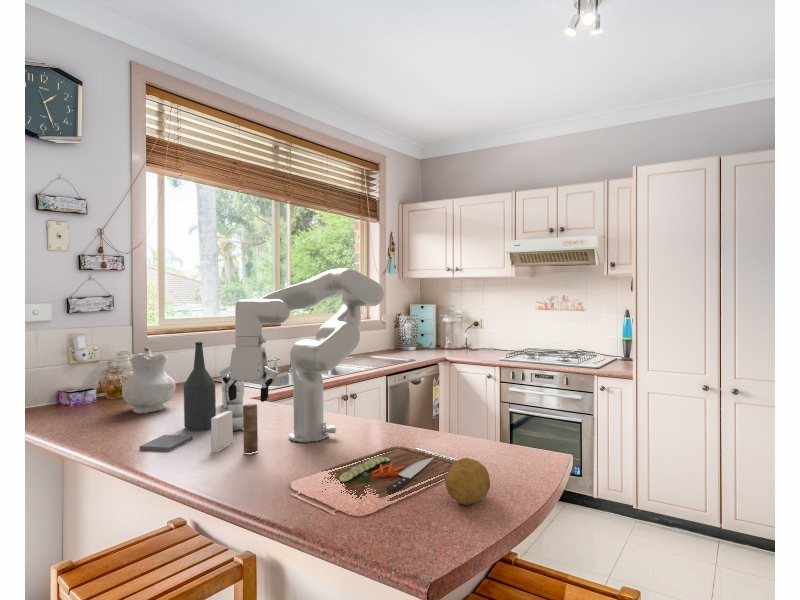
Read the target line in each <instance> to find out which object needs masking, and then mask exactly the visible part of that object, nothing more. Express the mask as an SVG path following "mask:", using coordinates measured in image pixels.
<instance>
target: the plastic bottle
mask: <svg viewBox="0 0 800 600" xmlns="http://www.w3.org/2000/svg"><path fill="white" fill-rule="evenodd" d="M228 375H229V376H228V377H229V378H230V371H229V372H228ZM230 379H231V378H230ZM235 385H236V387H237V388H236V399H234V400H232V401H230V400H229V396H228V387H227V384H226V385H225V394H226V403H227V408H226V411H232V429H233V432H235V431H240V430H241V431H242V430H243V405H244V393H245V384H244V381H237V382H236V383H235Z"/></svg>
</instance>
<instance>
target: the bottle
mask: <svg viewBox="0 0 800 600" xmlns="http://www.w3.org/2000/svg"><path fill="white" fill-rule="evenodd" d="M194 344H195V345H194V346H195V352H194V359H193V360H194V361H193V369H192V371H191V373H190V374H189V375H188V378H186V380H185V382H184V383H183V413H184V414H183V415H184V416H183V418H184V421H183V423H184V424H183V425H184V428H185V429H186V430H187V431H188V430H190V431H189V432H200V431H201V430H202V431H208V430H211V429H210V428H211V418H213V417H215V416H217V412H216V411H217V410H216V409H217V407H216V405H217V404H216V403H217V401H216V382H215V380H214V379H213V377H212V376H211V375H210V373H209V372H208V371H207V369H206V365H205V364H206V363H205V357H204V349H203V344H204V343H203V342H202V341H197V342H196V341H195V343H194ZM207 429H208V430H207Z"/></svg>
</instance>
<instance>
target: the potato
mask: <svg viewBox="0 0 800 600" xmlns="http://www.w3.org/2000/svg"><path fill="white" fill-rule="evenodd" d="M444 483H445V489H446V492H447V493H448V495H449V497H450V498H451V499H452V500H453V501H455V502H456V503H458V504H461V505H465V506H467V505H466V504H469V505H472V504H475V503H477V502H479V501H480V500H482V499H484V498H485V497H486V496H487V494H488V493H489V491H490V488H491V479H490V474H489V472H488V470H487V467H486V466H484V465H483V463H481V462H480V461H478V460H476V459H474V458H469V457H464V458H463V457H462V458H460V459H459V460H458V461H456V462H455V463H454V464H453V465H452V467H451V468H450V470H449V472H448V473H447V475H446V478H445V481H444ZM471 503H472V504H471Z"/></svg>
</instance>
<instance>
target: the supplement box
mask: <svg viewBox="0 0 800 600" xmlns="http://www.w3.org/2000/svg"><path fill="white" fill-rule="evenodd" d="M227 376H229V374H227ZM225 385H226V383H225V382H224V381H223V378H222V377H221V403H222V404H221V405H222V407H223V408H224V409H227V403H226V394H225Z"/></svg>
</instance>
